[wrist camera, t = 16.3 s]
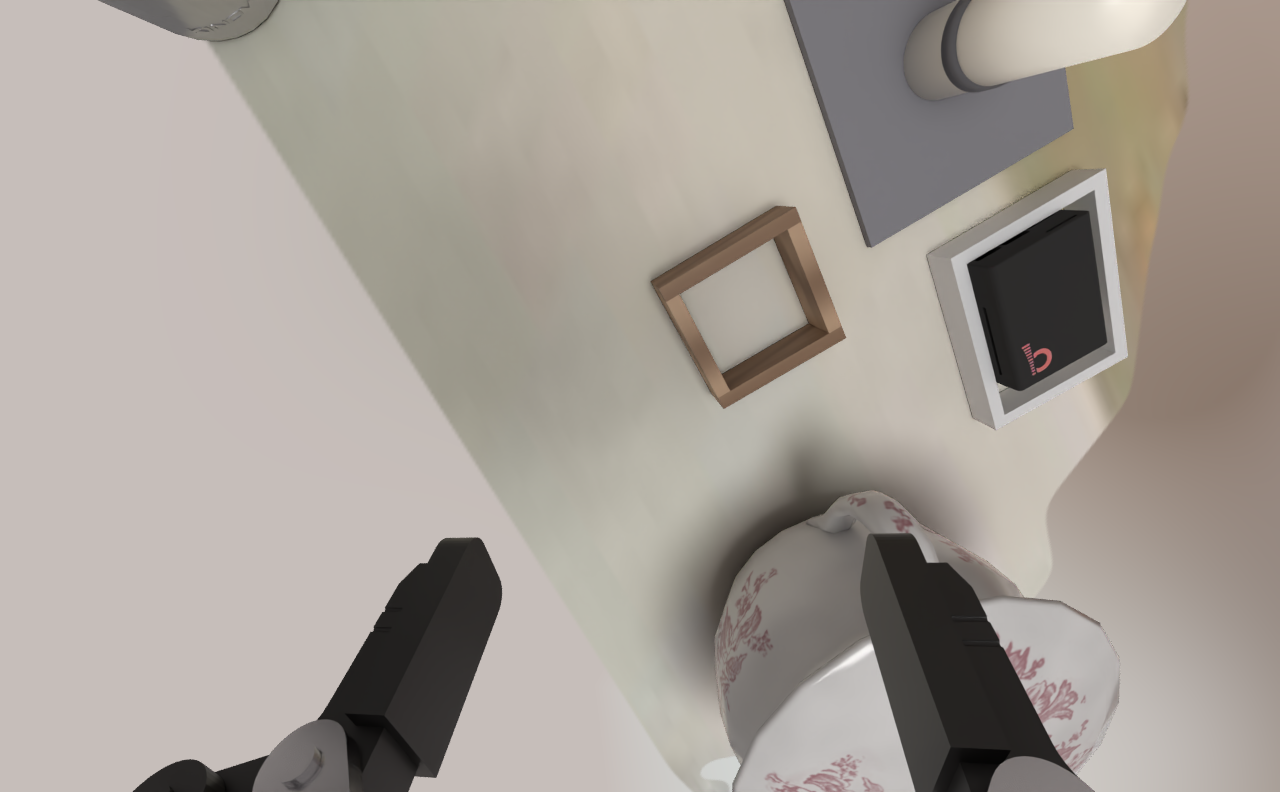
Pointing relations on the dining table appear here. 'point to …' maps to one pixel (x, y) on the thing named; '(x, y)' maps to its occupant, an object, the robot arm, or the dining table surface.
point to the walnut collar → (807, 285)
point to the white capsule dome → (1023, 39)
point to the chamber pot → (847, 665)
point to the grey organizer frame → (962, 309)
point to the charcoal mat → (912, 113)
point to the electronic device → (1040, 299)
